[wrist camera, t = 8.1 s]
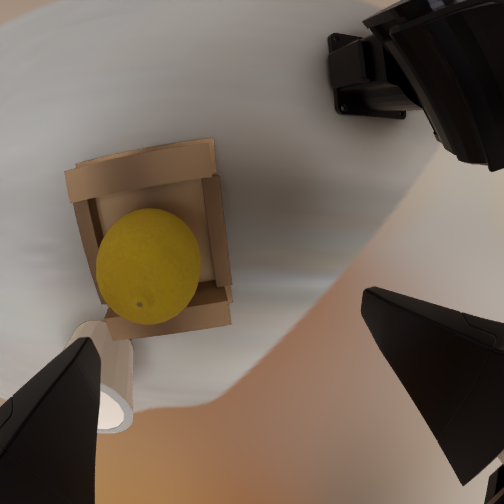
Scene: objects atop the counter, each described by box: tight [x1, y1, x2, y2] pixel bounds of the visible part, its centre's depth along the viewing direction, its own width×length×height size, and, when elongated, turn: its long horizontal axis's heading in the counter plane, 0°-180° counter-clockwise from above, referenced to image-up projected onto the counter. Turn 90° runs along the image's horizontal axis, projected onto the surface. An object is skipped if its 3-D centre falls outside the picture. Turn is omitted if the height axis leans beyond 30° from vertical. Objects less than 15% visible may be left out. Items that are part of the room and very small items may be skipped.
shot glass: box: [64, 320, 134, 434], centre depth 18 cm, size 7×7×7 cm
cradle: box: [64, 138, 233, 341], centre depth 17 cm, size 9×12×4 cm
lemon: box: [96, 208, 201, 325], centre depth 14 cm, size 6×6×8 cm
